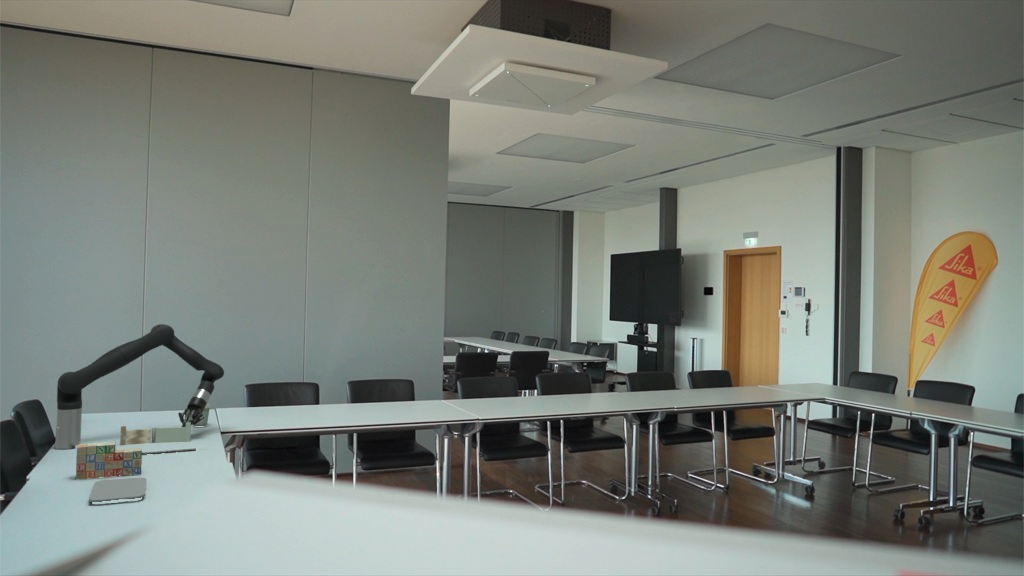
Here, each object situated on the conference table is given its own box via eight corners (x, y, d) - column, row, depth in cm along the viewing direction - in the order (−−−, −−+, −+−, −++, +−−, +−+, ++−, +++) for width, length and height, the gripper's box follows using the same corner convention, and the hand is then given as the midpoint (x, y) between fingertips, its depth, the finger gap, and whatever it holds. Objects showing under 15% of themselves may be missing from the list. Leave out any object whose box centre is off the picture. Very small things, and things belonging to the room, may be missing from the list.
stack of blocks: (141, 471, 266) (142, 439, 266) (141, 475, 261) (142, 442, 261) (77, 476, 256) (78, 443, 257) (75, 480, 251) (76, 446, 251)
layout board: (118, 457, 286) (118, 454, 286) (116, 444, 309) (116, 442, 309) (195, 451, 302) (196, 448, 302) (188, 439, 325) (188, 437, 325)
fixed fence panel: (120, 446, 303) (121, 426, 303) (120, 445, 304) (120, 426, 305) (150, 443, 309) (151, 425, 309) (150, 442, 311) (151, 424, 311)
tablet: (87, 507, 221) (88, 500, 221) (94, 487, 244) (95, 480, 244) (144, 502, 228) (144, 495, 228) (146, 483, 251) (146, 476, 251)
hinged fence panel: (151, 443, 309) (151, 424, 309) (151, 442, 311) (152, 423, 311) (189, 441, 315) (190, 423, 315) (190, 440, 317) (190, 422, 317)
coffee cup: (188, 426, 355) (189, 404, 356) (201, 424, 363) (202, 402, 363) (200, 428, 352) (201, 405, 352) (213, 426, 360) (214, 403, 360)
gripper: (183, 395, 326) (166, 425, 314) (209, 396, 325) (192, 427, 313) (189, 404, 332) (173, 434, 320) (214, 406, 330) (199, 436, 318)
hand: (183, 431), depth 316 cm, fingers closed
